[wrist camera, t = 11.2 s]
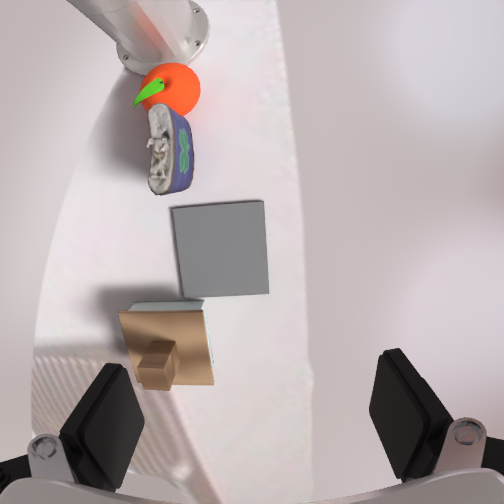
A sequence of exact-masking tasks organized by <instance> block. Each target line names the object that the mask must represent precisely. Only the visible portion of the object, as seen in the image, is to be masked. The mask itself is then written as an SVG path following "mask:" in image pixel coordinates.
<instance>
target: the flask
mask: <svg viewBox="0 0 504 504" xmlns="http://www.w3.org/2000/svg"><path fill="white" fill-rule="evenodd" d="M148 123H149V128H150V133H151V134H150V137H151V138H150V139H149V140H148V143H147V145H146V147H147V148H149V145H151V166H150V172H149V176H148V184H149V187H150V189H151V191H152V192H153V193H154V194H155V195H161V196H162V195H166V194H170V193H175V192H180V191H183V190H186V189H188V188H189V187H190V185H191V182H192V179H193V171H194V151H193V142H192V141H193V140H192V133H191V128H190V126H189V123H188V121H187V120H186V119H185V118H184V117H182V116H180V115H179V114H178V113H177V112H175V111H174V110H173V109H172V108H170V107H169V106H168V105H167V104H165V103H156V104H155V105H153V106H152V107H151V108H150V109H149V111H148Z"/></svg>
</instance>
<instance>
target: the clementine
mask: <svg viewBox="0 0 504 504" xmlns="http://www.w3.org/2000/svg"><path fill="white" fill-rule="evenodd" d="M199 96H200V82H199V79H198V77H197V75H196V74H195V73H194V71H193V70H192V69H190V68H189V67H187V66H186V65H183V64H180V63H165V64H161V65H159V66H157V67H155V68H153V69H152V70H151V71H150V72H149V73H148V74H147V75H146V76H145V78H144V80H143V82H142V85H141V89H140V93H139V94H138V96H137V97H136V99H135V101H134V103H133V109H134V107H135V106H136V105H137V104H138V103H139V102H142V105H143V106H144V107H145V109H146V110H147V111H149V109H150V108H151V107H152V106H153V105H155V104H156V103H165V104H167V105H168V106H169V107H170V108H172V109H173V110H174V111H175V112H177V113H178V114H179V115H180V116H184V115H186V114H187V113H188V112H190V111H191V110H192V109H193V108H194V106H195V105H196V103H197V101H198V99H199Z"/></svg>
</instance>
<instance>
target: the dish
mask: <svg viewBox="0 0 504 504" xmlns="http://www.w3.org/2000/svg"><path fill="white" fill-rule="evenodd" d="M163 310H203V311H204V319H205V326H206V333H207V339H208V346H209V353H210V359H211V365H212V368H213V363H214V362H213V356H212V350H211V343H210V337H209V330H208V323H207V316H206V309H205V301H204V300H203V301H176V302H135V303H134V304H133V305H132V307H131V308H130V309H129V310H128V311H163Z"/></svg>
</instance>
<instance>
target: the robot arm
mask: <svg viewBox="0 0 504 504" xmlns="http://www.w3.org/2000/svg"><path fill="white" fill-rule="evenodd" d="M67 1H68V2H69V3H71V4H72V5H73V6H75V7H76V8H77V9H78V10H79V11H80V12H82V13H83V14H84V15H85V16H86V17H88V18H89V19H90V20H91V21H92V22H93V23H95V24H96V25H97V26H98V27H99V28H101V29H102V30H103V31H104V32H105V33H106V34H107V35H109V36H110V37H111V38H112V39H113V40H114V41H115V42H117V53H118V57H119V59H120V60H121V62H122V63H123V64H124V65H125V66H126V67H127V68H128V69H129V70H131V71H132V72H134V73H137V74H139V75H144V76H146V75H147V74H148V73H149V72H150V71H151V70H152V69H153V68H155V67H157V66H159V65H161V64H165V63H180V64H183V65H187V64H189V63H190V62H191V61H192V60H193V59H195V58H196V57H197V56H198V54H199V53H200V52H201V51H202V50H203V48H204V46H205V44H206V42H207V39H208V36H209V29H210V27H209V21H208V18H207V15H206V13H205V12H204V10H203V9H202V8H201V7H200V6H199V5H198V4H196V3H195V2H193V1H191V0H67ZM198 44H199V46H197V45H198ZM369 413H370V416H371V419H372V421H373V424H374V426H375V428H376V430H377V433H378V435H379V437H380V440H381V442H382V444H383V447H384V449H385V452H386V454H387V457H388V459H389V461H390V464H391V466H392V469H393V471H394V474H395V476H396V478H397V479H400V478H401V480H402V484H398V485H395V486H391V487H387V488H384V489H379V490H375V491H371V492H367V493H362V494H357V495H353V496H347V497H342V498H337V499H331V500H324V501H318V502H310V503H301V504H504V440H501V439H496V438H491V437H487V434H486V429H485V427H484V425H483V424H482V423H481V422H480V421H478V420H476V419H473V418H466V417H465V418H460V419H457V420H455V421H454V420H453V418H452V417H451V415H450V414H449V412H448V411H447V410H446V409H445V407H444V405H443V404H442V403H441V401H440V400H439V398H438V397H437V396H436V394H435V393H434V392H433V390H432V389H431V387H430V386H429V385H428V384H427V382H426V381H425V379H424V378H422V377H421V376H420V375H419V373H418V372H417V370H416V369H415V368H414V366H413V365H412V364H411V362H410V361H409V360H408V358H407V357H406V356H405V355H404V353H403V352H402V351H401V349H400V348H395V349H390V350H385V351H384V352H383V355H380V356H379V359H378V365H377V370H376V377H375V381H374V387H373V392H372V396H371V401H370V406H369ZM143 427H144V416H143V414H142V411H141V408H140V406H139V403H138V400H137V398H136V395H135V392H134V389H133V387H132V384H131V381H130V378H129V375H128V372H127V369H126V368H123V366H122V365H121V364H115V363H106V364H105V365H104V367H103V368H102V370H101V371H100V372H99V374H98V375H97V377H96V378H95V380H94V381H93V382H92V384H91V385H90V387H89V388H88V390H87V391H86V393H85V394H84V395H83V397H82V398H81V400H80V401H79V403H78V404H77V406H76V407H75V409H74V410H73V412H72V413H71V415H70V416H69V418H68V419H67V421H66V422H65V424H64V425H63V427H62V428H61V430H60V431H59V432H60V435H59V437H57V436H55V435H52V434H42V435H39V436H37V437H35V438H34V439H33V440H32V441H31V442H30V443H29V445H28V451H27V452H28V454H27V455H24V456H20V457H17V458H14V459H10V460H8V461H4V462H0V504H179V503H171V502H163V501H156V500H150V499H143V498H138V497H132V496H128V495H123V494H118V493H115V491H116V488H117V489H119V488H120V487H121V484H122V482H123V479H124V476H125V474H126V471H127V469H128V466H129V463H130V461H131V458H132V455H133V453H134V450H135V448H136V445H137V442H138V440H139V437H140V435H141V432H142V430H143Z"/></svg>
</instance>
